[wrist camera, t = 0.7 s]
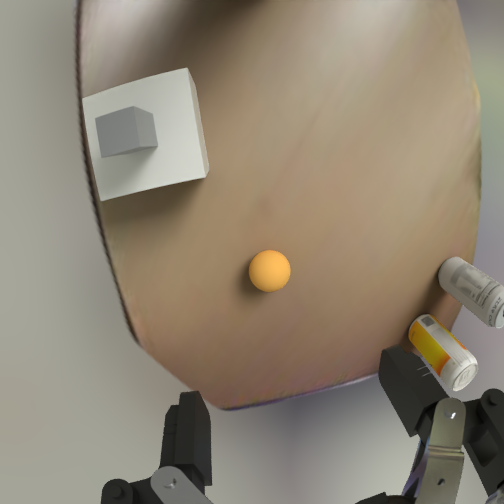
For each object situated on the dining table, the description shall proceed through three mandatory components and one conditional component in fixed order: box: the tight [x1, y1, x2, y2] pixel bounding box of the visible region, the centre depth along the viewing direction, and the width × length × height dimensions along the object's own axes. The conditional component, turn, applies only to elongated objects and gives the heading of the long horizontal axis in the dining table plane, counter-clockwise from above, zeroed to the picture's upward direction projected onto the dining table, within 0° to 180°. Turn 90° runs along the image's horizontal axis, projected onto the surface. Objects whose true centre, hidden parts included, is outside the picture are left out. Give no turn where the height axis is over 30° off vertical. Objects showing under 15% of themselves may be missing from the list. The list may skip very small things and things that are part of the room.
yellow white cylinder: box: [409, 314, 478, 391], centre depth 39 cm, size 6×6×15 cm
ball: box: [249, 250, 290, 292], centre depth 36 cm, size 5×5×5 cm
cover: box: [82, 68, 210, 201], centre depth 24 cm, size 10×10×15 cm
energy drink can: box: [438, 257, 504, 329], centre depth 35 cm, size 6×6×15 cm
